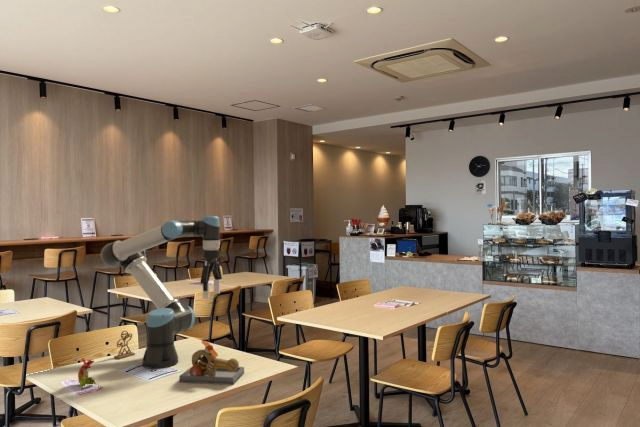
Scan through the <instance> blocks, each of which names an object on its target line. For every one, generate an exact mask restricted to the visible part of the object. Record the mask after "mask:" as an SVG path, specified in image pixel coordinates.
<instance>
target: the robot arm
mask: <svg viewBox="0 0 640 427" xmlns="http://www.w3.org/2000/svg"><path fill="white" fill-rule="evenodd" d="M220 227H221V224H220V217H219V216H217V215H204V216H203V217H202V220H195V219H194V220H191V219H188V220H187V219H186V220H176V219H173V220H168V221H165V222H164V224H163V225H160V226H157V227H155V228H153V229H150V230H147V231H145V232H142V233H139V234H137V235H134V236H132V237H129V238H126V239H124V240H115V241H113V242H110V243H107V244H106V245H105V246H103V247H102V249H101V251H100V259H101V262H102V263H104V265H106V266H107V267H109V268H119V267H121V268H122V270H123V271H124V272H125V273H126V274H130V275H131V276H132V277H133V278H134V280H135V281H136V283H137V284H138V285H139V287H140V288H142V290H143V292H144V293H145V294H146V295H147V296H148V298H149V299H150V301H151V302H152V304H154V306H155V308H157V309H153V310H151V311H149V312H148V313H147V315H146V320H145V323H146V324H145V325H146V326H145V327H146V331H145V332H146V348H145V350H144V354H143V358H142V366H143V367H144V368H146V367H148V368H147V369H164V368H169V367H172V366H175V365H177V364H178V363H179V355H178V353H177V352H178V351H177V350H176V345H175V335H179V334H181V333H185V332H186V331H188V330H190V329H191V328H192V327H193V326H194V324H195V322H196V321H195V320H196V315H195V311H194V309H193V308H192V307H191V306H189V305H184V304H183V303H182V302H181V300H180V299H178V298H177V299H175V298H174V296H173V295H172V294H171V292H170V291H169V290H168V288H167V287H166V286H165V284H163V282H162V281H161V280H160V278H158V276H157V274H156V273H155V272H154V271H153V270H152V269H151V267H150V266H149V265H148V263H147V260H148V258H147V257H146V256H147V254H146V250H149V249H151V248H152V249H153V248H154V247H156V246H160V245H162V244H165V243H167V242H170V241H173V240H175V239H178V238H190V237H192V238H193V237H202V249H203V250H202V258H203V259H206V261H205V260H204V261H203V264H202V265H203V266H202V269H201V270H202V272H201V276H200V281H199V282H200V285H202V299H210V283H209V281H210V278H211V274H212V275H213V278H214V279H213V294H216V295H218V294H220V293H221V286H220V285H221V283H220V282H221V281H220V280H222V279H223V278H222V270H221V267H220V265H221V264H220V259H219V258H220V257H221V254H220V253H221V252H220V251H221V250H220V248H221V247H220V245H221V242H220V235H221V234H220V231H221V230H220V229H221V228H220Z"/></svg>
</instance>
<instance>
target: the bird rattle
mask: <svg viewBox="0 0 640 427" xmlns="http://www.w3.org/2000/svg"><path fill="white" fill-rule="evenodd" d="M80 360H81V361H82V362H83V364H82V365H80V366H79V368H78V373H77V379H78V380H77V381H78V384H79V383H80V385H79V387H81V388H82V387H83V386H84V387H85V386H86V385H88V384H93V385H96V384H97V383H96V382H95V379H94V378H93V377H92V376H89V369H91V368H92V367H91V365H92V364H93V363H94V362H95V360H92V359H89V360H87V361H86V359H85V358H84V357H82V358H81V359H80Z"/></svg>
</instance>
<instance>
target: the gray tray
mask: <svg viewBox="0 0 640 427" xmlns="http://www.w3.org/2000/svg"><path fill="white" fill-rule="evenodd" d="M192 367H193V365H192V366H190V367H189V368H188V369H186V370H185V371H184V372H182V374H180V375H179V383H188V384H189V383H190V384H191V383H192V384H208V385H210V384H211V385H231V386H234V385H235V384H236V382H238V381H239V379H240V378H241V377H242V376H243V375H244V374H245V366H239V367H238V369H237V370H236V371H233V372H231V371H229V370H228V369H225V368H217V370H216V375H215V376H208V375H201V376H191V375H190V369H191V368H192Z"/></svg>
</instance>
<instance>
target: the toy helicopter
mask: <svg viewBox="0 0 640 427" xmlns="http://www.w3.org/2000/svg"><path fill="white" fill-rule="evenodd" d="M201 344H202V345H203V346H204V349H198V350H196V351H195V352H194V353H192V355H191V364H192V366H193V367H192V366H191V367H192V368H191V367H190V368H191V369H190V375H191V376H201V375H208V376H215V375H216V370H217V368H225V369H228V370H229V371H231V372H233V371H236V370H237V369H238V367H240V364H239V361H238V360H237V359H236V358H230V359H223V358H217V357H219V354H218V353H217V352H216V350H215V349H214V346H213V344H210V343H209V342H208V341H207V340H202V341H201Z"/></svg>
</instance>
